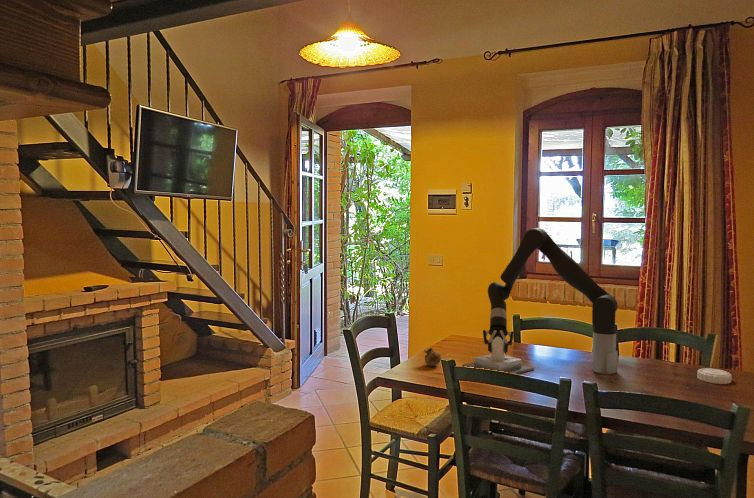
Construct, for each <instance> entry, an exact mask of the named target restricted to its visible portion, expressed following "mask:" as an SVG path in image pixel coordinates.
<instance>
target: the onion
mask: <svg viewBox="0 0 754 498" xmlns="http://www.w3.org/2000/svg"><path fill="white" fill-rule="evenodd" d="M423 352H424V353H425V354H426V355H424V363H425V364H426V365H427V366H428V367H436V366H438V365H439V363H440V362H441V361H442V356H441V354H439V353H438V352H437V351H435V350H433V348H432V347H430V348H428V349H423Z"/></svg>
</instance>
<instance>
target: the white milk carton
mask: <svg viewBox="0 0 754 498" xmlns="http://www.w3.org/2000/svg"><path fill="white" fill-rule="evenodd" d="M490 354H491V360H494V361H498V362H499V361H504V355H505V344H504V342H503V341H502V339H501V338H500V337H496V338H495V339H494V341H493V342H492V343H491V353H490Z"/></svg>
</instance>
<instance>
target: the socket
mask: <svg viewBox="0 0 754 498" xmlns="http://www.w3.org/2000/svg"><path fill="white" fill-rule="evenodd" d="M473 360H474V361H473V362H468V363H465V364H461V365H462V366H467V367H474V368H484V369H490V370H497V371H504V372H508V373H516V374H517V375H520V374H519V373H521V374H523V373H528V372H531V371H534V370H535V368H534V367H532V366H528V365H525V364H522V359H521V358H519V357H514V356H510V355H506V354H504V361H499V362H498V361H494V360H491V353H490V354H483V355H480V356H476V357H474V359H473Z"/></svg>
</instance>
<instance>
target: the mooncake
mask: <svg viewBox="0 0 754 498" xmlns="http://www.w3.org/2000/svg"><path fill="white" fill-rule="evenodd" d="M696 377H697V379H699V380H700V381H703V382H708V383H711V384H719V385H721V384H722V385H724V384H725V385H727V384H730V383H732V374H731V373H730V372H728V371H726V370H722V369H719V368H710V367H707V368H706V367H705V368H700V369H698V370H697V376H696Z"/></svg>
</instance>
